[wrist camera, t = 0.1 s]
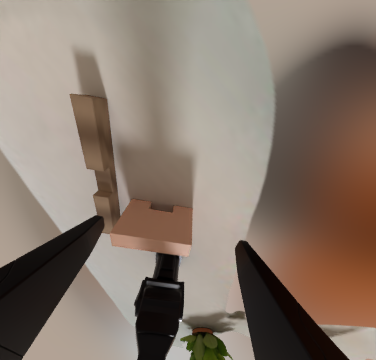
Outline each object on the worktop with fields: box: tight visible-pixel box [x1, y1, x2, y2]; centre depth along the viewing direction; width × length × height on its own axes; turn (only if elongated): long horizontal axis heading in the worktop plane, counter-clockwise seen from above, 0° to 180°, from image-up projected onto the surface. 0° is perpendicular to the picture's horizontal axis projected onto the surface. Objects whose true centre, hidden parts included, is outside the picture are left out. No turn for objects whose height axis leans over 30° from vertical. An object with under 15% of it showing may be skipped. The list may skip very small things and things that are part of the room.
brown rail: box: [70, 94, 120, 234], centre depth 22 cm, size 24×2×3 cm, turn 170°
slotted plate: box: [110, 199, 193, 257], centre depth 24 cm, size 3×12×8 cm, turn 80°
